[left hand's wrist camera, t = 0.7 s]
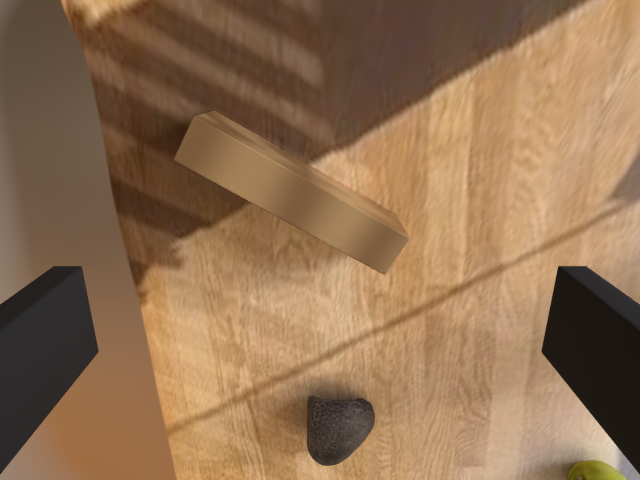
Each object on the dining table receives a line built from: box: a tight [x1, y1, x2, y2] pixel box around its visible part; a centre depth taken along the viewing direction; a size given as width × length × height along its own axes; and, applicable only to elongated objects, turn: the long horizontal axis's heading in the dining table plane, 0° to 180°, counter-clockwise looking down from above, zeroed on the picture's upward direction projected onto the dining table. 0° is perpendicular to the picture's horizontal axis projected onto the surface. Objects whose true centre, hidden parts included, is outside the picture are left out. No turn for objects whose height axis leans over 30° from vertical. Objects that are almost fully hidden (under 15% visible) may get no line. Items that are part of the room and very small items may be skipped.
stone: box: [307, 395, 375, 466], centre depth 60 cm, size 10×8×10 cm
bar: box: [174, 110, 410, 275], centre depth 48 cm, size 24×5×8 cm, turn 60°
